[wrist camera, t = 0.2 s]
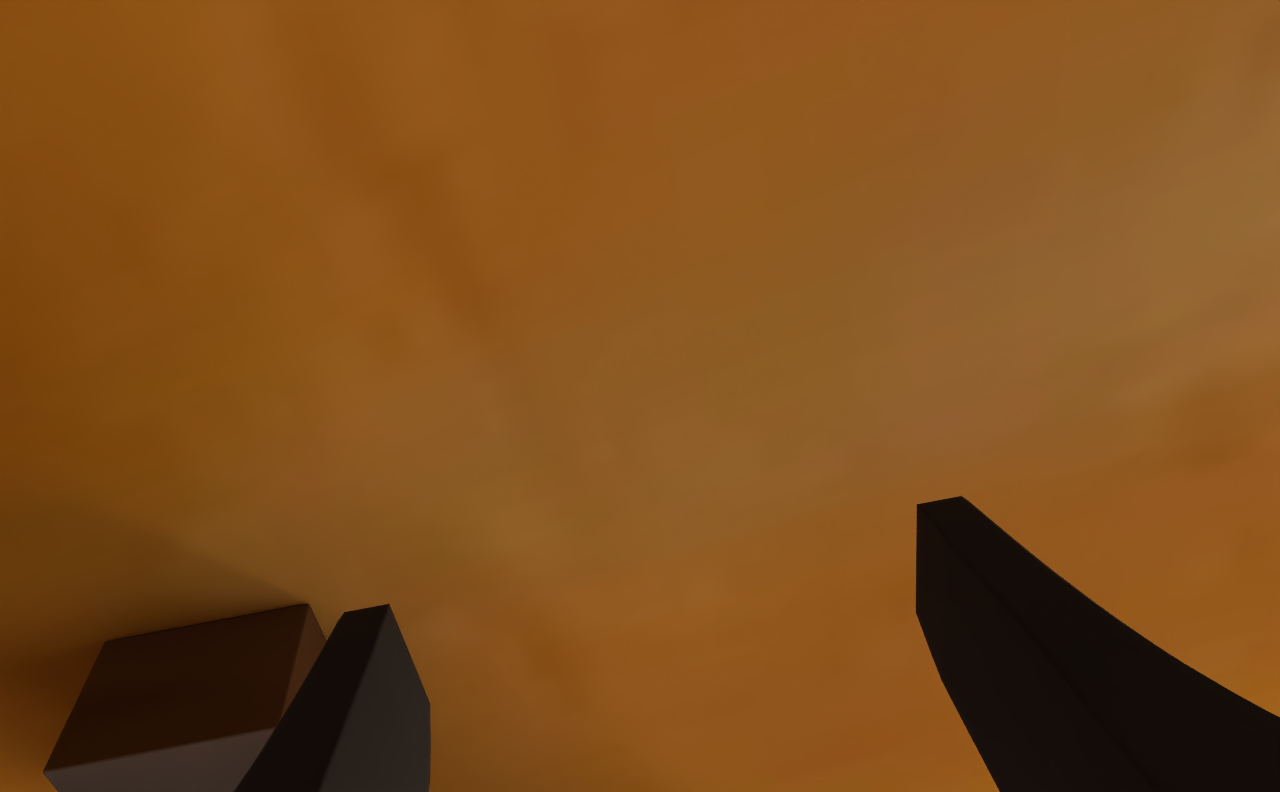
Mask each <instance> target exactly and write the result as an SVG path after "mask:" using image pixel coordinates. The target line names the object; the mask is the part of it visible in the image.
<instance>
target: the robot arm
mask: <svg viewBox="0 0 1280 792" xmlns="http://www.w3.org/2000/svg"><path fill="white" fill-rule="evenodd" d="M916 614H917V616H918V619H919V622H920V625H921V627H922V630H923V633H924V635H925V638H926V641H927V644H928V646H929V649H930V652H931V654H932V657H933V659H934V662H935V664H936V667H937V669H938V672H939V675H940V677H941V680H942V682H943V684H944V686H945V688H946V690H947V692H948V693H949V695H950V697H951V699H952V701H953V703H954V705H955V707H956V709H957V711H958V713H959V715H960V717H961V719H962V720H963V722H964V724H965V726H966V728H967V730H968V732H969V734H970V736H971V738H972V740H973V742H974V743H975V745H976V747H977V749H978V751H979V753H980V755H981V757H982V759H983V760H984V762H985V764H986V766H987V768H988V770H989V772H990V774H991V776H992V778H993V779H994V781H995V783H996V785H997V787H998V789H999V791H1000V792H1280V717H1278V716H1276V715H1274V714H1272V713H1270V712H1268V711H1266V710H1264V709H1262V708H1261V707H1259V706H1257V705H1255V704H1253V703H1251V702H1250V701H1248V700H1246V699H1244V698H1242V697H1240V696H1239V695H1237V694H1235V693H1233V692H1232V691H1230V690H1228V689H1226V688H1225V687H1223V686H1221V685H1220V684H1218V683H1216V682H1215V681H1213V680H1211V679H1210V678H1208V677H1206V676H1204V675H1203V674H1201V673H1199V672H1198V671H1196V670H1194V669H1193V668H1191V667H1189V666H1187V665H1186V664H1184V663H1183V662H1181V661H1179V660H1178V659H1176V658H1175V657H1173V656H1171V655H1170V654H1168V653H1167V652H1165V651H1164V650H1162V649H1161V648H1159V647H1158V646H1156V645H1155V644H1153V643H1152V642H1150V641H1149V640H1147V639H1146V638H1144V637H1143V636H1141V635H1140V634H1139V633H1137V632H1136V631H1134V630H1133V629H1131V628H1130V627H1128V626H1127V625H1125V624H1124V623H1122V622H1121V621H1120V620H1118V619H1117V618H1115V617H1114V616H1113V615H1111V614H1110V613H1108V612H1107V611H1106V610H1104V609H1103V608H1102V607H1100V606H1099V605H1097V604H1096V603H1095V602H1093V601H1092V600H1091V599H1089V598H1088V597H1087V596H1085V595H1084V594H1083V593H1082V592H1080V591H1079V590H1078V589H1076V588H1075V587H1074V586H1072V585H1071V584H1070V583H1068V582H1067V581H1066V580H1064V579H1063V578H1062V577H1060V576H1059V575H1058V574H1057V573H1055V572H1054V571H1053V570H1051V569H1050V568H1049V567H1048V566H1046V565H1045V564H1044V563H1043V562H1041V561H1040V560H1039V559H1038V558H1036V557H1035V556H1034V555H1033V554H1032V553H1030V552H1029V551H1028V550H1027V549H1025V548H1024V547H1023V546H1022V545H1020V544H1019V543H1018V542H1017V541H1016V540H1014V539H1013V538H1012V537H1011V536H1010V535H1008V534H1007V533H1006V532H1005V531H1004V530H1002V529H1001V528H1000V527H999V526H998V525H996V524H995V523H994V522H993V521H992V520H990V519H989V518H988V517H987V516H986V515H985V514H983V513H982V512H981V511H980V510H979V509H977V508H976V507H975V506H974V505H973V504H971V503H970V502H969V501H968V500H966V499H965V498H963V497H962V496H959V497H954V498H949V499H943V500H938V501H933V502H927V503H922V504H917V552H916ZM430 751H431V733H430V702H429V700H428V697H427V695H426V692H425V690H424V688H423V685H422V683H421V680H420V678H419V675H418V673H417V671H416V668H415V666H414V663H413V661H412V658H411V656H410V653H409V651H408V649H407V646H406V644H405V641H404V639H403V636H402V634H401V632H400V629H399V627H398V624H397V622H396V619H395V617H394V614H393V612H392V610H391V607H390V605H389V604H386V605H381V606H376V607H370V608H365V609H360V610H354V611H349V612H344V614H343V615H342V616H341V618H340V619H339V621H338V622H337V624H336V626H335V628H334V629H333V631H332V633H331V634H330V636H329V638H328V640H327V641H326V643H325V645H324V647H323V648H322V650H321V652H320V654H319V655H318V657H317V659H316V661H315V662H314V664H313V666H312V668H311V669H310V671H309V673H308V675H307V676H306V678H305V680H304V681H303V683H302V685H301V687H300V688H299V690H298V692H297V693H296V695H295V697H294V698H293V700H292V702H291V703H290V705H289V707H288V708H287V710H286V712H285V713H284V715H283V716H282V718H281V720H280V721H279V723H278V724H277V726H276V728H275V729H274V731H273V732H272V734H271V736H270V737H269V739H268V741H267V742H266V744H265V745H264V747H263V749H262V750H261V752H260V753H259V755H258V756H257V758H256V759H255V761H254V763H253V764H252V766H251V767H250V768H249V770H248V771H247V773H246V774H245V776H244V777H243V779H242V780H241V782H240V783H239V785H238V786H237V787H236V789H235V790H234V792H429V783H430Z"/></svg>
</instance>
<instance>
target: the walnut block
mask: <svg viewBox="0 0 1280 792" xmlns="http://www.w3.org/2000/svg"><path fill="white" fill-rule="evenodd" d="M325 643H326V639H325V637H324V635H323V632H322V630H321V628H320V626H319V624H318V622H317V620H316V618H315V616H314V613H313V611H312V609H311V607H310V605H309V604H306V605H301V606H295V607H290V608H285V609H280V610H274V611H269V612H264V613H258V614H253V615H248V616H242V617H237V618H232V619H226V620H221V621H216V622H210V623H205V624H200V625H195V626H189V627H184V628H179V629H173V630H168V631H163V632H157V633H152V634H147V635H141V636H136V637H131V638H125V639H120V640H115V641H110V642H105V643H104V644H103V646H102V648H101V650H100V652H99V655H98V657H97V659H96V661H95V663H94V665H93V667H92V669H91V671H90V673H89V676H88V678H87V680H86V682H85V684H84V686H83V688H82V690H81V692H80V695H79V697H78V699H77V701H76V703H75V705H74V707H73V709H72V711H71V714H70V716H69V718H68V720H67V722H66V724H65V726H64V728H63V730H62V733H61V735H60V737H59V739H58V741H57V743H56V745H55V747H54V749H53V752H52V754H51V756H50V758H49V760H48V762H47V764H46V766H45V768H44V771H43V774H44V775H45V776H46V777H47V779H48V780H49V781H50V782H51V784H52V785H53V786H54V787H55V789H56V790H57V791H58V792H234V790H235V789H236V787H237V786H238V785H239V783H240V782H241V780H242V779H243V777H244V776H245V774H246V773H247V771H248V770H249V768H250V767H251V766H252V764H253V763H254V761H255V759H256V758H257V756H258V755H259V753H260V752H261V750H262V749H263V747H264V745H265V744H266V742H267V741H268V739H269V737H270V736H271V734H272V732H273V731H274V729H275V728H276V726H277V724H278V723H279V721H280V720H281V718H282V716H283V715H284V713H285V712H286V710H287V708H288V707H289V705H290V703H291V702H292V700H293V698H294V697H295V695H296V693H297V692H298V690H299V688H300V687H301V685H302V683H303V681H304V680H305V678H306V676H307V675H308V673H309V671H310V669H311V668H312V666H313V664H314V662H315V661H316V659H317V657H318V655H319V654H320V652H321V650H322V648H323V647H324V645H325Z"/></svg>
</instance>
